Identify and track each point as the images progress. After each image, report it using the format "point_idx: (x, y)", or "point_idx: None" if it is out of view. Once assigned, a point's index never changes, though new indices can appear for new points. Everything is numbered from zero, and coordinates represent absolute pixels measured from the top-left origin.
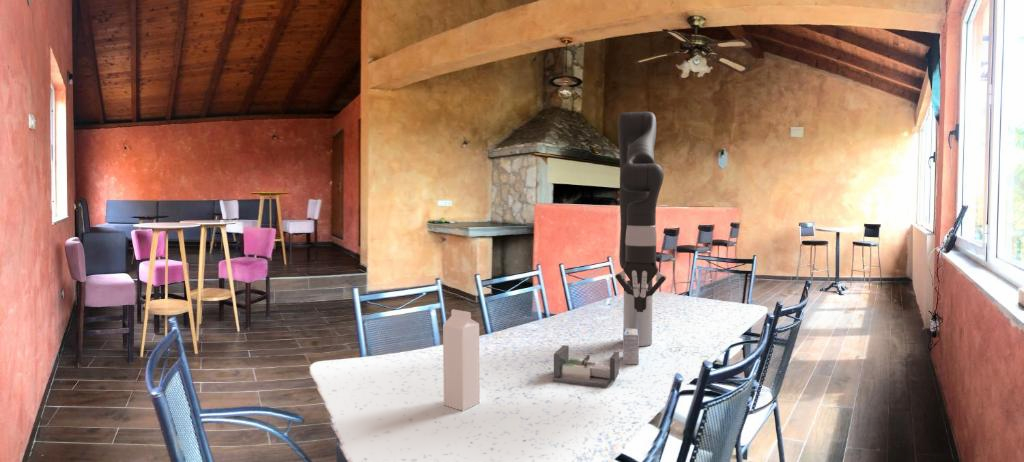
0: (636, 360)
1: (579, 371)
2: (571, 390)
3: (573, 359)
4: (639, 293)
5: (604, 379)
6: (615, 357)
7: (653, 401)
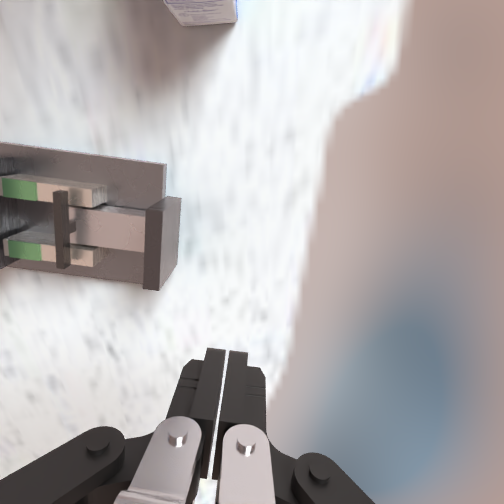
0: (228, 19)
1: None
2: (82, 313)
3: (15, 191)
4: (198, 472)
5: None
6: (159, 277)
7: (280, 339)
